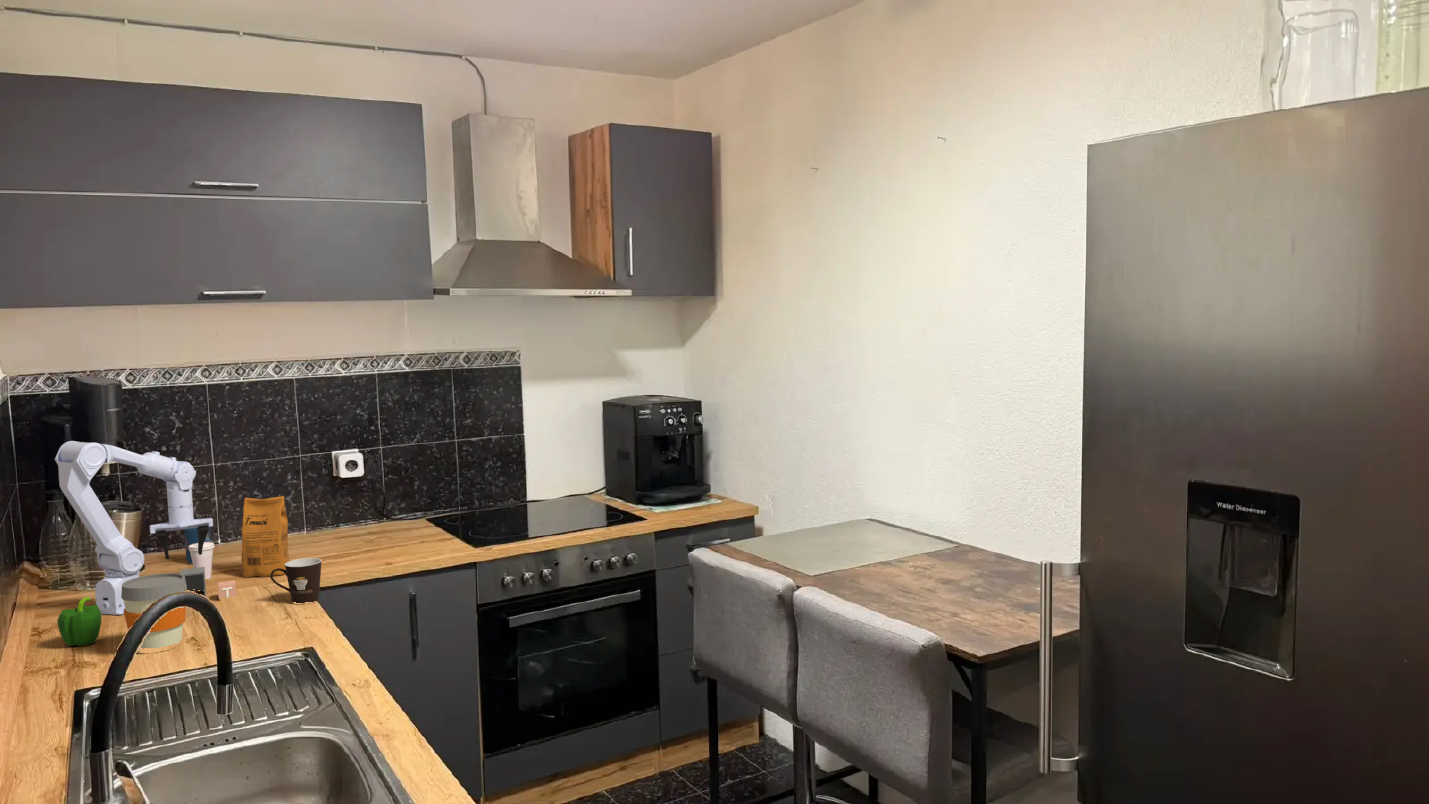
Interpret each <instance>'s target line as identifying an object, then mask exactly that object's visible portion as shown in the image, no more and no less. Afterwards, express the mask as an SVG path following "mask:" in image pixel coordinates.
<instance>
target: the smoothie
mask: <svg viewBox="0 0 1429 804" xmlns="http://www.w3.org/2000/svg"><path fill="white" fill-rule="evenodd" d="M214 548H215V543H214V542H212V541H211V542H204V544H203V549H202V555H199V554H198V543H196V544H192V545H190V546H189V549H188V550H189V551H190V553H191V558H192V563H193V564H192V568H199V567H205V579H208V580H210V579H211V578H212V569H213V555H214ZM209 578H210V579H209Z"/></svg>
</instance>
